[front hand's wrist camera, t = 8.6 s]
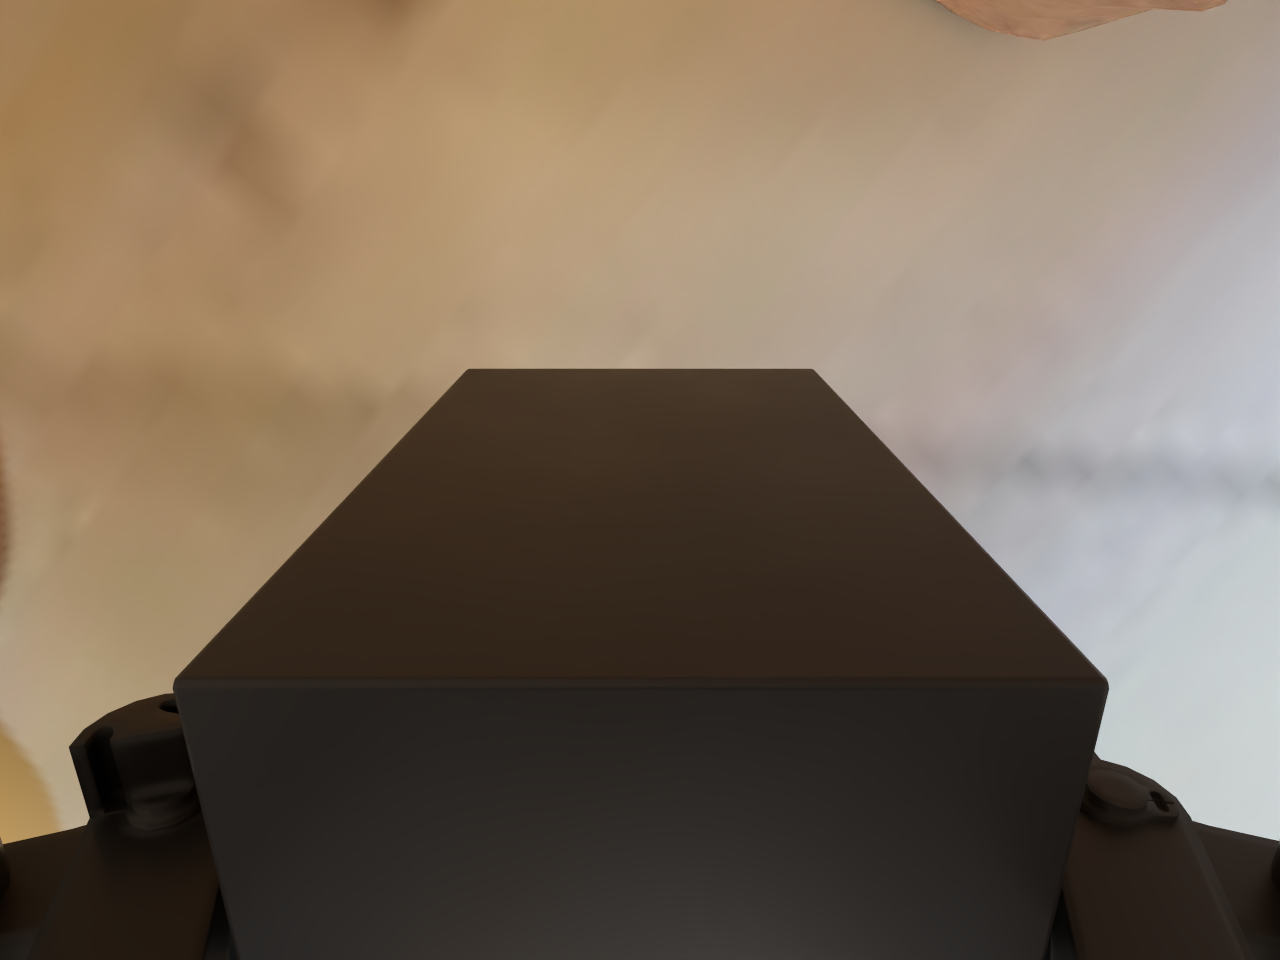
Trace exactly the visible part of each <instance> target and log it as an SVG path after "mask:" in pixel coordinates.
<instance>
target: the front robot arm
mask: <svg viewBox="0 0 1280 960" xmlns="http://www.w3.org/2000/svg"><path fill="white" fill-rule="evenodd" d="M69 749H70V753H71V756H72V759H73V763H74V766H75V769H76V773H77V776H78V779H79V783H80V786H81V790H82V793H83V796H84V800H85V803H86V806H87V810H88V813H89V816H90V819H89V821H88V823H87V825H85V826H81V827H78V828H74V829H70V830H66V831H61V832H57V833H52V834H48V835H43V836H39V837H34V838H30V839H25V840H21V841H16V842H12V843H7V844H2V841H1V838H0V960H237V957H236V953H235V948H234V944H233V940H232V936H231V932H230V927H229V923H228V919H227V915H226V910H225V906H224V902H223V898H222V894H221V889H220V885H219V881H218V877H217V872H216V868H215V864H214V860H213V856H212V851H211V847H210V843H209V839H208V835H207V830H206V826H205V822H204V818H203V813H202V809H201V805H200V801H199V797H198V792H197V788H196V784H195V780H194V776H193V771H192V767H191V763H190V759H189V754H188V750H187V746H186V742H185V738H184V733H183V729H182V725H181V721H180V717H179V712H178V708H177V704H176V700H175V695H174V693H172V694H163V695H159V696H155V697H151V698H147V699H143V700H139V701H135V702H133V703H131V704H128V705H126V706H124V707H122V708H119V709H117V710H115V711H112V712H110V713H108V714H106V715H105V716H103V717H102V718H100V719H99V720H97V721H96V722H94V723H93V724H91V725H90V726H88V727H87V728H85V729H84V730H83V731H82V732H81V733H80V735H79V736H78V737H77V738H76V739H75V740H74V742H73V743H72V744H71V745H70V746H69ZM1044 960H1280V841H1276V840H1271V839H1267V838H1262V837H1258V836H1253V835H1249V834H1244V833H1240V832H1235V831H1231V830H1226V829H1222V828H1217V827H1212V826H1208V825H1205V824H1201V823H1198V822H1194V821H1192V819H1191V817H1190V816H1189V814H1188V813H1187V812H1186V810H1185V809H1184V808H1183V806H1182V805H1181V803H1180V802H1179V801H1178V799H1177V798H1176V797H1175V796H1173V795H1172V794H1171V793H1170V792H1168V791H1167V790H1166V789H1164V788H1163V787H1162V786H1161V785H1159V784H1158V783H1157V782H1155V781H1154V780H1152V779H1150V778H1148V777H1146V776H1144V775H1142V774H1140V773H1138V772H1136V771H1134V770H1132V769H1130V768H1128V767H1125V766H1122V765H1118V764H1114V763H1111V762H1107V761H1104V760H1100V758H1099V757H1098V756H1097V755H1096V753H1095V752H1094V754H1093V758H1092V762H1091V766H1090V770H1089V775H1088V779H1087V783H1086V787H1085V791H1084V796H1083V800H1082V804H1081V808H1080V812H1079V817H1078V821H1077V825H1076V829H1075V833H1074V837H1073V842H1072V846H1071V850H1070V854H1069V858H1068V863H1067V867H1066V871H1065V875H1064V879H1063V884H1062V888H1061V892H1060V896H1059V900H1058V905H1057V909H1056V913H1055V917H1054V921H1053V926H1052V930H1051V934H1050V938H1049V942H1048V947H1047V951H1046V955H1045V959H1044Z"/></svg>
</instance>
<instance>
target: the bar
mask: <svg viewBox="0 0 1280 960" xmlns="http://www.w3.org/2000/svg"><path fill="white" fill-rule="evenodd" d="M173 691H174V695H175V700H176V704H177V708H178V712H179V717H180V721H181V725H182V729H183V733H184V738H185V742H186V746H187V750H188V754H189V759H190V763H191V767H192V771H193V776H194V780H195V784H196V788H197V792H198V797H199V801H200V805H201V809H202V813H203V818H204V822H205V826H206V830H207V835H208V839H209V843H210V847H211V851H212V856H213V860H214V864H215V868H216V872H217V877H218V881H219V885H220V889H221V894H222V898H223V902H224V906H225V910H226V915H227V919H228V923H229V927H230V932H231V936H232V940H233V944H234V948H235V953H236V957H237V960H1044V959H1045V955H1046V951H1047V947H1048V942H1049V938H1050V934H1051V930H1052V926H1053V921H1054V917H1055V913H1056V909H1057V905H1058V900H1059V896H1060V892H1061V888H1062V884H1063V879H1064V875H1065V871H1066V867H1067V863H1068V858H1069V854H1070V850H1071V846H1072V842H1073V837H1074V833H1075V829H1076V825H1077V821H1078V817H1079V812H1080V808H1081V804H1082V800H1083V796H1084V791H1085V787H1086V783H1087V779H1088V775H1089V770H1090V766H1091V762H1092V758H1093V754H1094V749H1095V745H1096V741H1097V737H1098V733H1099V728H1100V724H1101V720H1102V716H1103V712H1104V707H1105V703H1106V699H1107V695H1108V691H1109V686H1108V681H1107V679H1106V678H1105V677H1104V676H1103V674H1102V673H1101V672H1100V671H1099V670H1098V669H1097V668H1096V667H1095V666H1094V665H1093V664H1092V663H1091V662H1090V661H1089V660H1088V659H1087V658H1086V657H1085V655H1084V654H1083V653H1082V652H1081V651H1080V650H1079V649H1078V648H1077V647H1076V646H1075V645H1074V644H1073V643H1072V642H1071V641H1070V640H1069V639H1068V638H1067V636H1066V635H1065V634H1064V633H1063V632H1062V631H1061V630H1060V629H1059V628H1058V627H1057V626H1056V625H1055V624H1054V623H1053V622H1052V621H1051V620H1050V619H1049V617H1048V616H1047V615H1046V614H1045V613H1044V612H1043V611H1042V610H1041V609H1040V608H1039V607H1038V606H1037V605H1036V604H1035V603H1034V602H1033V601H1032V600H1031V598H1030V597H1029V596H1028V595H1027V594H1026V593H1025V592H1024V591H1023V590H1022V589H1021V588H1020V587H1019V586H1018V585H1017V584H1016V583H1015V582H1014V581H1013V579H1012V578H1011V577H1010V576H1009V575H1008V574H1007V573H1006V572H1005V571H1004V570H1003V569H1002V568H1001V567H1000V566H999V565H998V564H997V563H996V562H995V561H994V559H993V558H992V557H991V556H990V555H989V554H988V553H987V552H986V551H985V550H984V549H983V548H982V547H981V546H980V545H979V544H978V543H977V542H976V540H975V539H974V538H973V537H972V536H971V535H970V534H969V533H968V532H967V531H966V530H965V529H964V528H963V527H962V526H961V525H960V524H959V523H958V521H957V520H956V519H955V518H954V517H953V516H952V515H951V514H950V513H949V512H948V511H947V510H946V509H945V508H944V507H943V506H942V505H941V504H940V502H939V501H938V500H937V499H936V498H935V497H934V496H933V495H932V494H931V493H930V492H929V491H928V490H927V489H926V488H925V487H924V486H923V485H922V483H921V482H920V481H919V480H918V479H917V478H916V477H915V476H914V475H913V474H912V473H911V472H910V471H909V470H908V469H907V468H906V467H905V466H904V464H903V463H902V462H901V461H900V460H899V459H898V458H897V457H896V456H895V455H894V454H893V453H892V452H891V451H890V450H889V449H888V448H887V447H886V445H885V444H884V443H883V442H882V441H881V440H880V439H879V438H878V437H877V436H876V435H875V434H874V433H873V432H872V431H871V430H870V429H869V428H868V426H867V425H866V424H865V423H864V422H863V421H862V420H861V419H860V418H859V417H858V416H857V415H856V414H855V413H854V412H853V411H852V410H851V409H850V407H849V406H848V405H847V404H846V403H845V402H844V401H843V400H842V399H841V398H840V397H839V396H838V395H837V394H836V393H835V392H834V391H833V390H832V388H831V387H830V386H829V385H828V384H827V383H826V382H825V381H824V380H823V379H822V378H821V377H820V376H819V375H818V374H817V373H816V372H815V371H814V370H813V369H468V370H466V371H465V372H464V374H463V375H462V376H461V377H460V378H459V379H458V380H457V381H456V382H455V383H454V384H453V385H452V386H451V387H450V388H449V389H448V390H447V392H446V393H445V394H444V395H443V396H442V397H441V398H440V399H439V400H438V401H437V402H436V403H435V404H434V405H433V406H432V407H431V408H430V410H429V411H428V412H427V413H426V414H425V415H424V416H423V417H422V418H421V419H420V420H419V421H418V422H417V423H416V424H415V425H414V426H413V427H412V429H411V430H410V431H409V432H408V433H407V434H406V435H405V436H404V437H403V438H402V439H401V440H400V441H399V442H398V443H397V444H396V445H395V447H394V448H393V449H392V450H391V451H390V452H389V453H388V454H387V455H386V456H385V457H384V458H383V459H382V460H381V461H380V462H379V463H378V465H377V466H376V467H375V468H374V469H373V470H372V471H371V472H370V473H369V474H368V475H367V476H366V477H365V478H364V479H363V480H362V481H361V483H360V484H359V485H358V486H357V487H356V488H355V489H354V490H353V491H352V492H351V493H350V494H349V495H348V496H347V497H346V498H345V499H344V501H343V502H342V503H341V504H340V505H339V506H338V507H337V508H336V509H335V510H334V511H333V512H332V513H331V514H330V515H329V516H328V517H327V519H326V520H325V521H324V522H323V523H322V524H321V525H320V526H319V527H318V528H317V529H316V530H315V531H314V532H313V533H312V534H311V535H310V537H309V538H308V539H307V540H306V541H305V542H304V543H303V544H302V545H301V546H300V547H299V548H298V549H297V550H296V551H295V552H294V553H293V555H292V556H291V557H290V558H289V559H288V560H287V561H286V562H285V563H284V564H283V565H282V566H281V567H280V568H279V569H278V570H277V571H276V573H275V574H274V575H273V576H272V577H271V578H270V579H269V580H268V581H267V582H266V583H265V584H264V585H263V586H262V587H261V588H260V589H259V590H258V592H257V593H256V594H255V595H254V596H253V597H252V598H251V599H250V600H249V601H248V602H247V603H246V604H245V605H244V606H243V607H242V608H241V610H240V611H239V612H238V613H237V614H236V615H235V616H234V617H233V618H232V619H231V620H230V621H229V622H228V623H227V624H226V625H225V626H224V628H223V629H222V630H221V631H220V632H219V633H218V634H217V635H216V636H215V637H214V638H213V639H212V640H211V641H210V642H209V643H208V644H207V646H206V647H205V648H204V649H203V650H202V651H201V652H200V653H199V654H198V655H197V656H196V657H195V658H194V659H193V660H192V661H191V662H190V664H189V665H188V666H187V667H186V668H185V669H184V670H183V671H182V672H181V673H180V674H179V675H178V676H177V677H176V678H175V681H174V684H173Z"/></svg>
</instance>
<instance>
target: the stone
mask: <svg viewBox="0 0 1280 960" xmlns="http://www.w3.org/2000/svg"><path fill="white" fill-rule="evenodd" d="M935 1H937V2H939V3H941V4H942V5H944V6H945V7H946V8H948V9H949V10H950V11H951V12H953V13H954V14H956V15H958V16H960V17H962V18H964V19H966V20H968V21H970V22H972V23H974V24H976V25H978V26H980V27H982V28H984V29H986V30H991V31H996V32H1001V33H1006V34H1012V35H1015V36H1018V37H1025V38H1032V39H1039V40H1047V39H1051V38H1055V37H1059V36H1063V35H1066V34H1070V33H1074V32H1078V31H1082V30H1085V29H1088V28H1092V27H1095V26H1098V25H1101V24H1105V23H1108V22H1111V21H1114V20H1118V19H1121V18H1124V17H1127V16H1131V15H1134V14H1137V13H1141V12H1144V11H1148V10H1151V9H1171V10H1188V11H1203V10H1207V9H1210V8H1213V7H1216V6H1219V5H1222V4H1225V2H1226V1H1227V0H935Z"/></svg>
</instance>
